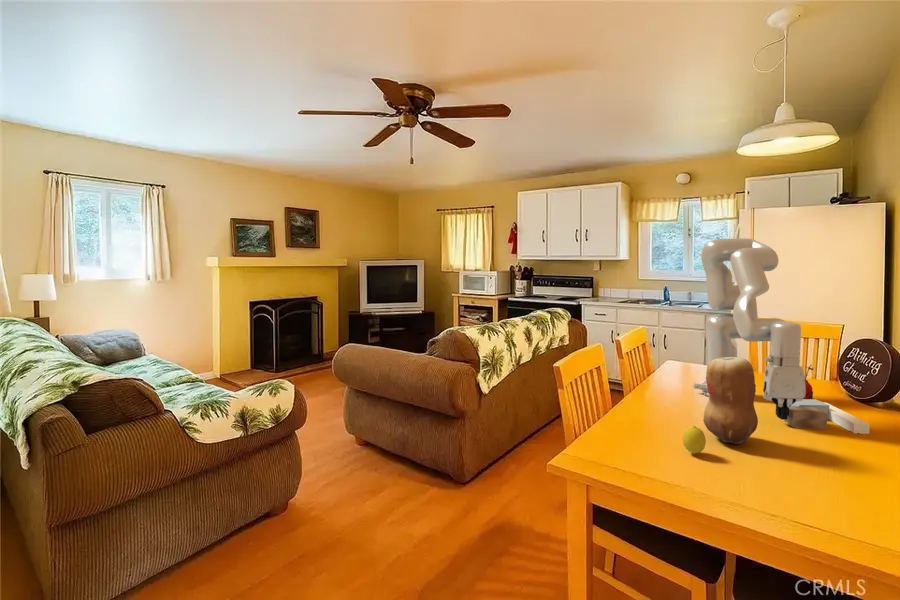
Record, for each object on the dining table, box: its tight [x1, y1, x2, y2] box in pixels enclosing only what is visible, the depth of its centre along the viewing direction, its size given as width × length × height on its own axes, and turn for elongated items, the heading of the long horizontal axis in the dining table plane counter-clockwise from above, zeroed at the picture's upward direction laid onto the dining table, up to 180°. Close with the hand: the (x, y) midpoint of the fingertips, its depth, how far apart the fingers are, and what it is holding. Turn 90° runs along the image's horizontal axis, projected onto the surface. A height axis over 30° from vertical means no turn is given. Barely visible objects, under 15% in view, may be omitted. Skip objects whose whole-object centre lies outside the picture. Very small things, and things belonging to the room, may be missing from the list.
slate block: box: [791, 398, 829, 421], centre depth 146 cm, size 9×6×5 cm, turn 84°
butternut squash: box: [702, 357, 759, 445], centre depth 127 cm, size 14×13×25 cm
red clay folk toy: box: [803, 364, 814, 399], centre depth 157 cm, size 8×7×15 cm
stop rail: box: [822, 401, 871, 435], centre depth 141 cm, size 4×20×3 cm, turn 169°
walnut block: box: [783, 406, 828, 430], centre depth 139 cm, size 9×6×5 cm, turn 75°
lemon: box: [682, 425, 707, 455], centre depth 120 cm, size 6×6×8 cm
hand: (782, 418), depth 139 cm, fingers closed
